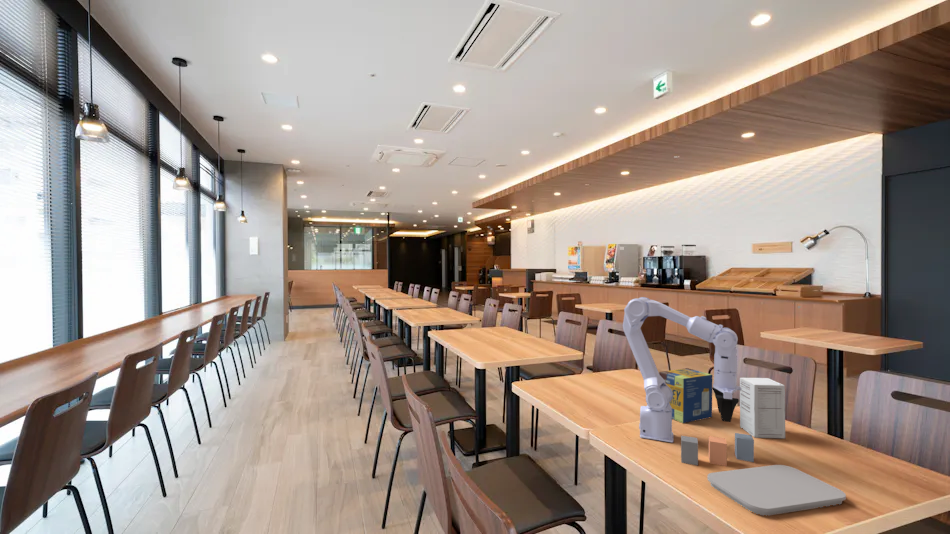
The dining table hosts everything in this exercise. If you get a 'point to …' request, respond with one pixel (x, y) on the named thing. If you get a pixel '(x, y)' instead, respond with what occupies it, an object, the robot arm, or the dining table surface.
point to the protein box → (689, 394)
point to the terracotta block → (717, 451)
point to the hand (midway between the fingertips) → (724, 417)
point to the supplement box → (762, 407)
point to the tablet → (775, 489)
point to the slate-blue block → (744, 447)
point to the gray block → (689, 450)
